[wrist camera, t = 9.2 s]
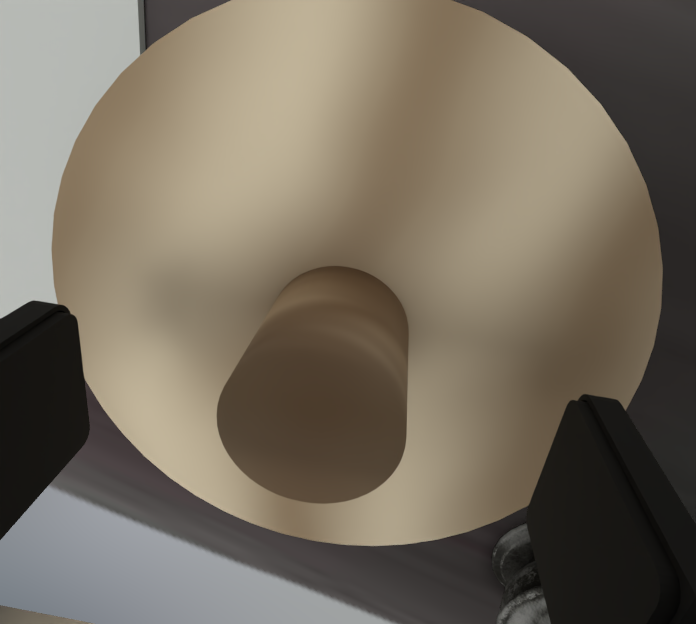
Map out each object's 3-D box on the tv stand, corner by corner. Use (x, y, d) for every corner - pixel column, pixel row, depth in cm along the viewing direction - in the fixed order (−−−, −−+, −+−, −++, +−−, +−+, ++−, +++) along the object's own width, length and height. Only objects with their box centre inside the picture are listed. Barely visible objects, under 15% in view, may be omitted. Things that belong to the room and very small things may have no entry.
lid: (765, 37, 10) (1027, 14, 6) (545, 562, 17) (591, 735, 12) (32, -56, 11) (-218, -138, 7) (96, 480, 17) (-8, 616, 13)
